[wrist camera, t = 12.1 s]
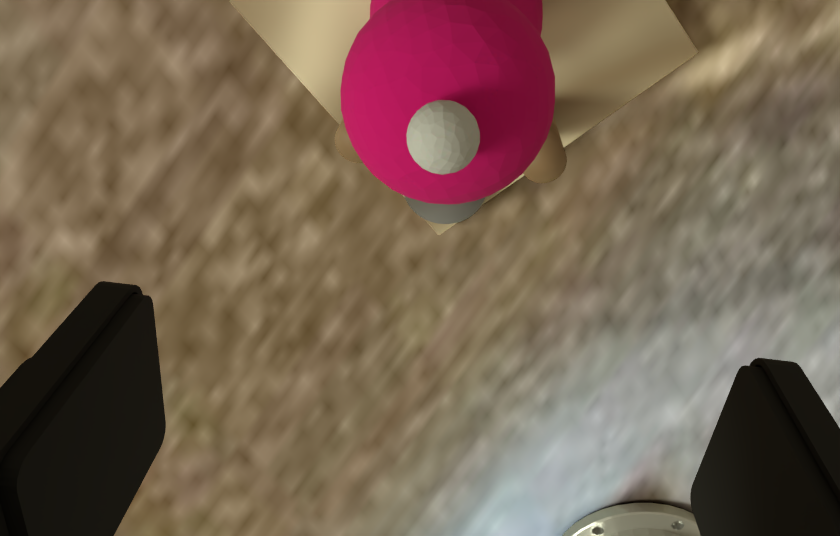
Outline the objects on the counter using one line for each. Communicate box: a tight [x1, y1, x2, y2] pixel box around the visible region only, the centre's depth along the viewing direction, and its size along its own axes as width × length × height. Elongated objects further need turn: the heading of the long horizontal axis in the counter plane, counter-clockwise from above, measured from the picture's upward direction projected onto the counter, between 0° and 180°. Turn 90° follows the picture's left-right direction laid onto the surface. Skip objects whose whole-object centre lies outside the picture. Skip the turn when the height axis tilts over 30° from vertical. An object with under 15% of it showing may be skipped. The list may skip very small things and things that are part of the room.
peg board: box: [229, 0, 699, 235], centre depth 33 cm, size 16×16×8 cm
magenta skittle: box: [340, 0, 555, 205], centre depth 25 cm, size 7×7×20 cm
